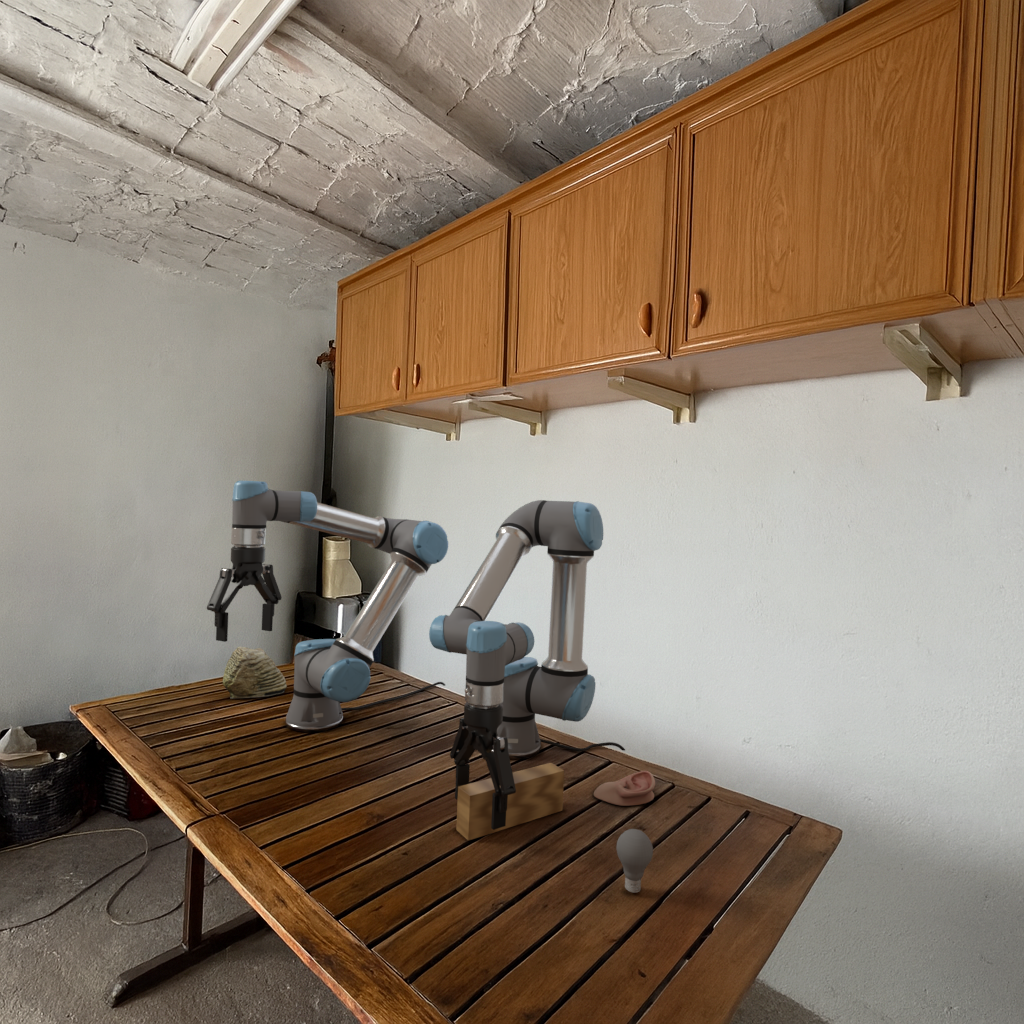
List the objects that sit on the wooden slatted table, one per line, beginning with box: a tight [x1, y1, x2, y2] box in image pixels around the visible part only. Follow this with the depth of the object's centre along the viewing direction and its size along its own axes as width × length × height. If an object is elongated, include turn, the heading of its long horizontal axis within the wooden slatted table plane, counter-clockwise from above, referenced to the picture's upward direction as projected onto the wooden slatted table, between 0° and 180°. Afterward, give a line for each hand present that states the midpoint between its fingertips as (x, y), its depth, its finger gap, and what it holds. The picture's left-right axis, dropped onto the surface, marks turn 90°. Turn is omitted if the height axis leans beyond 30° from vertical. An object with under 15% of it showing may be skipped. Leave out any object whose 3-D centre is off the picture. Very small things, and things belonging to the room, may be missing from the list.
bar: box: [455, 762, 565, 841], centre depth 127 cm, size 23×4×8 cm, turn 125°
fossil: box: [222, 646, 288, 699], centre depth 198 cm, size 9×18×15 cm, turn 132°
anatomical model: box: [593, 770, 656, 807], centre depth 141 cm, size 13×4×12 cm
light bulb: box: [615, 828, 654, 894], centre depth 106 cm, size 6×6×10 cm
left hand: (245, 635), depth 150 cm, fingers open, 13 cm apart
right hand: (479, 811), depth 123 cm, fingers open, 13 cm apart
